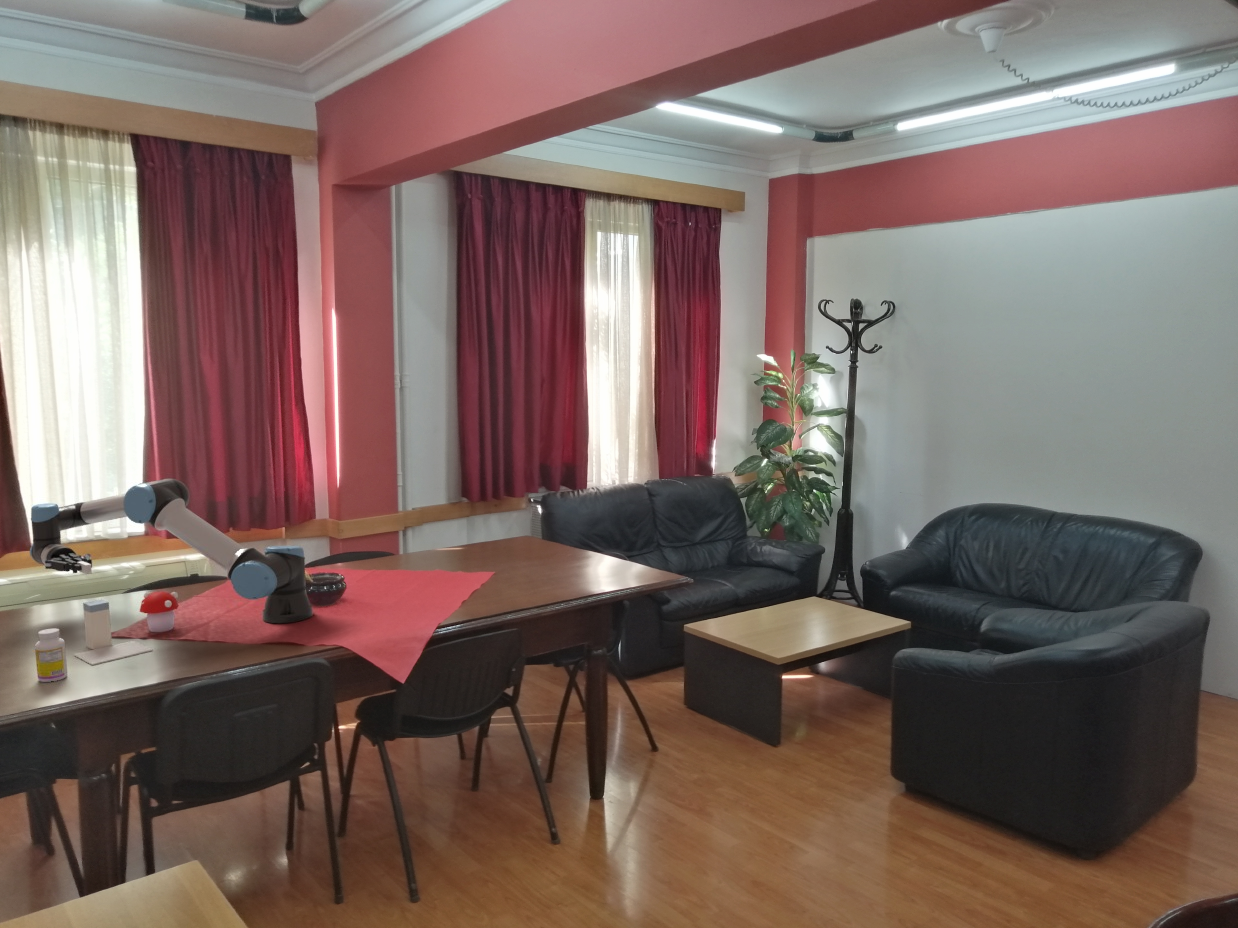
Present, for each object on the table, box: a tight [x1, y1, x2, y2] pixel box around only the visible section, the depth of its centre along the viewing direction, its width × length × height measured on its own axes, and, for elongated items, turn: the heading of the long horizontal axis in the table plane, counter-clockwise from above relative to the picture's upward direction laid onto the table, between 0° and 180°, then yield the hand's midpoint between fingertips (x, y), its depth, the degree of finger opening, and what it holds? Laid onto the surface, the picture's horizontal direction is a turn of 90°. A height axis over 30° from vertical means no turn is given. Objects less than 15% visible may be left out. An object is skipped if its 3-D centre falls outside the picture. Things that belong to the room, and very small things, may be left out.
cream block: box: [82, 598, 113, 650], centre depth 268 cm, size 5×5×13 cm
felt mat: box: [73, 640, 153, 666], centre depth 262 cm, size 13×16×1 cm
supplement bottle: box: [34, 628, 68, 683], centre depth 241 cm, size 7×7×13 cm
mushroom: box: [139, 590, 179, 633], centre depth 284 cm, size 11×11×12 cm
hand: (88, 569), depth 274 cm, fingers closed
